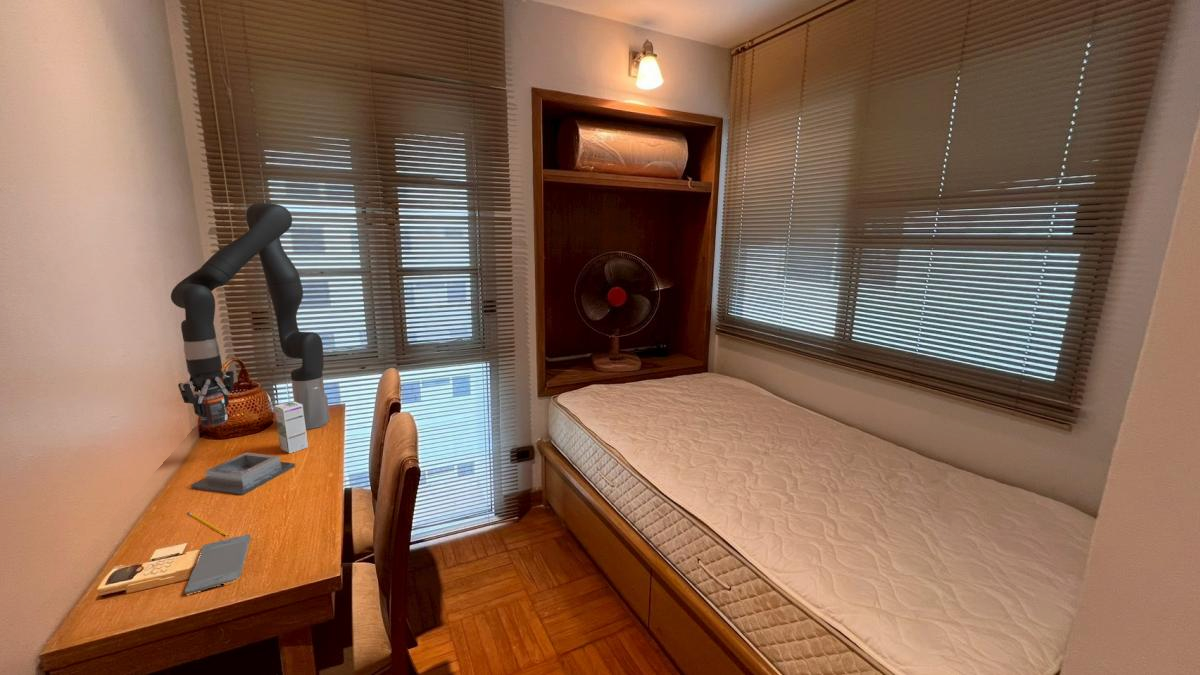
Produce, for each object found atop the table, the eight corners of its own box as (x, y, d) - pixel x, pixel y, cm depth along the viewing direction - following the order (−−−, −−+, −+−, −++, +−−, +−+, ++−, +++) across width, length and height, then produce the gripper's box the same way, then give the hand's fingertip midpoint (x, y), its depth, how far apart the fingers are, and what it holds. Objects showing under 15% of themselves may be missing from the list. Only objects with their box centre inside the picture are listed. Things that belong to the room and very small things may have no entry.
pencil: (191, 513, 111) (190, 511, 111) (230, 536, 102) (229, 533, 102) (186, 515, 110) (186, 512, 110) (226, 538, 102) (225, 535, 101)
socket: (248, 461, 137) (246, 448, 136) (295, 466, 134) (293, 453, 133) (191, 488, 122) (189, 473, 121) (242, 495, 118) (240, 480, 118)
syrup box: (309, 447, 146) (303, 403, 144) (288, 454, 141) (282, 408, 139) (299, 443, 149) (294, 400, 147) (279, 450, 144) (273, 405, 142)
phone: (184, 599, 84) (182, 593, 84) (203, 550, 98) (202, 544, 98) (240, 583, 88) (239, 577, 88) (251, 538, 102) (250, 533, 102)
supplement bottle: (233, 420, 139) (227, 384, 136) (215, 429, 133) (208, 391, 130) (215, 420, 139) (208, 383, 137) (196, 427, 133) (189, 390, 131)
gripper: (217, 348, 139) (226, 401, 143) (164, 360, 125) (175, 419, 129) (238, 349, 138) (246, 403, 141) (186, 362, 124) (197, 421, 128)
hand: (212, 410), depth 135 cm, fingers closed on supplement bottle, 6 cm apart
